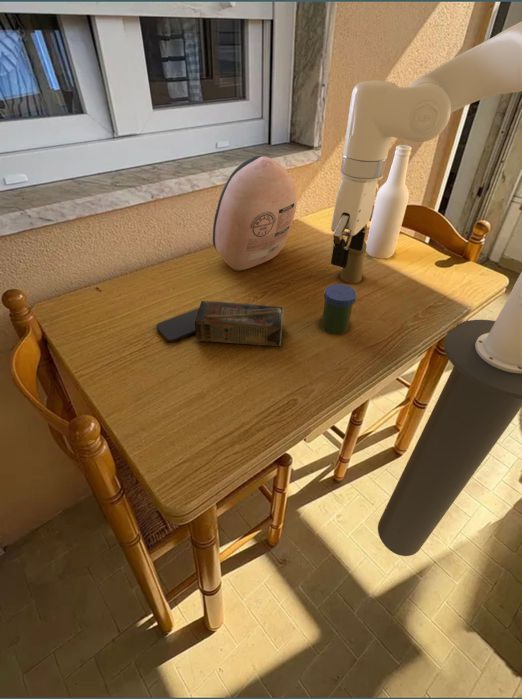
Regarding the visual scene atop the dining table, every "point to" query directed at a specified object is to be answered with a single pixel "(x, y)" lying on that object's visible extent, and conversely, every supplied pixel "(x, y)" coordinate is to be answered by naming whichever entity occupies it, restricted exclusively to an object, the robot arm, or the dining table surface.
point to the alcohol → (389, 208)
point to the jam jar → (336, 318)
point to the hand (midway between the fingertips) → (346, 256)
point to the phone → (178, 326)
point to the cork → (354, 266)
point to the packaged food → (254, 213)
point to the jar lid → (340, 295)
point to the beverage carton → (239, 323)
